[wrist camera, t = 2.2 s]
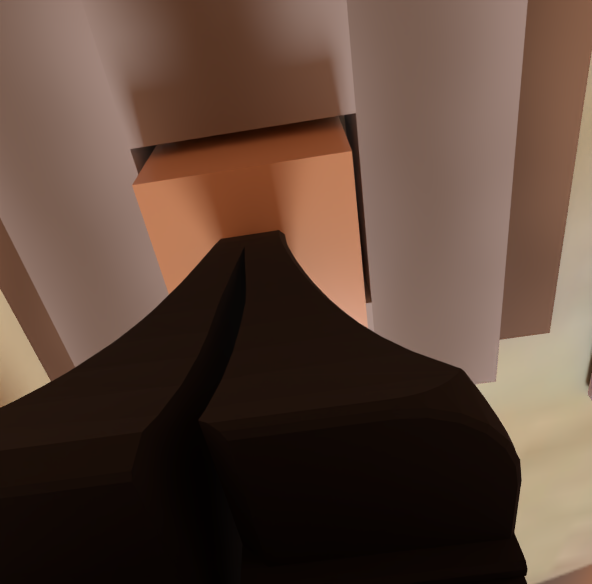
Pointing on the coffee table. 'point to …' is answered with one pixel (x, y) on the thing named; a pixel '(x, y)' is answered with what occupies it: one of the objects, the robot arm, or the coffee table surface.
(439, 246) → the button board
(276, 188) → the button
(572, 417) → the coffee table surface
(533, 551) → the coffee table surface
